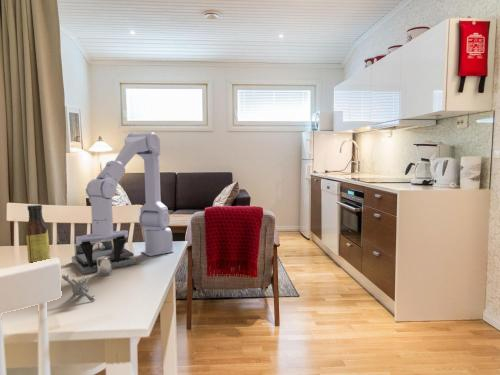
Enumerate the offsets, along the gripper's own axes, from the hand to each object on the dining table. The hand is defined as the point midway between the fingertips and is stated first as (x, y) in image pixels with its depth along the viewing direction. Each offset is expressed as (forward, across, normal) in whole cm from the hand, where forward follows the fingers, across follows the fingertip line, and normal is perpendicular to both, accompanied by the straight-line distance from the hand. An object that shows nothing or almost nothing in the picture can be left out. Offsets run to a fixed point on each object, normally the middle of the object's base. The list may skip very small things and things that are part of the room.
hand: (104, 264), depth 107 cm
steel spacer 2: (-1, -8, -9) cm, 12 cm away
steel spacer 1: (+3, 0, 0) cm, 3 cm away
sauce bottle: (+3, +13, -25) cm, 28 cm away
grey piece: (+3, +11, +15) cm, 19 cm away
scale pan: (0, -3, -9) cm, 10 cm away
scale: (+3, -4, -12) cm, 13 cm away
